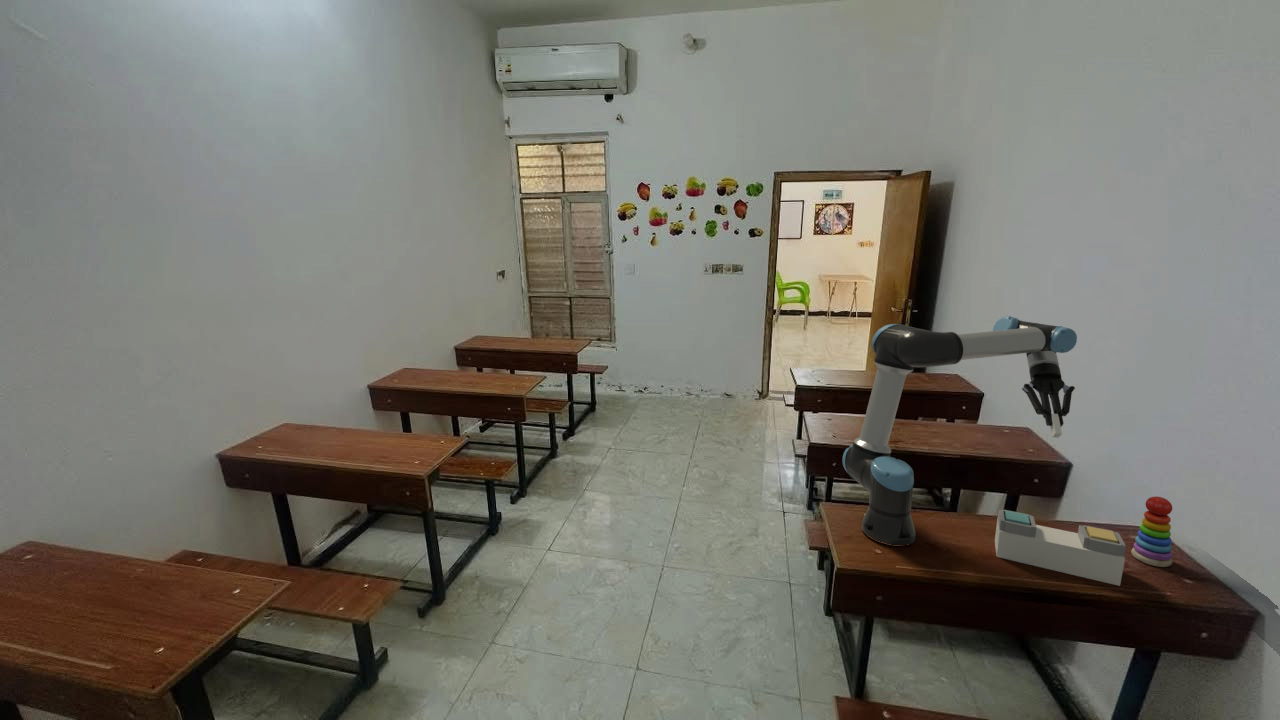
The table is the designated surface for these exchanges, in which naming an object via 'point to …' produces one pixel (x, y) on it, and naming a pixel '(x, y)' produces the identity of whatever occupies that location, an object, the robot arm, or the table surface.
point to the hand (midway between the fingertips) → (1057, 435)
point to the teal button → (1017, 517)
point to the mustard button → (1101, 534)
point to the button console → (1060, 550)
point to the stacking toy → (1155, 534)
